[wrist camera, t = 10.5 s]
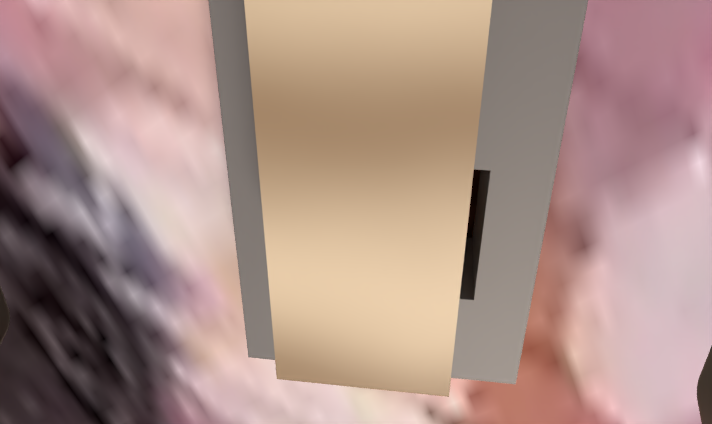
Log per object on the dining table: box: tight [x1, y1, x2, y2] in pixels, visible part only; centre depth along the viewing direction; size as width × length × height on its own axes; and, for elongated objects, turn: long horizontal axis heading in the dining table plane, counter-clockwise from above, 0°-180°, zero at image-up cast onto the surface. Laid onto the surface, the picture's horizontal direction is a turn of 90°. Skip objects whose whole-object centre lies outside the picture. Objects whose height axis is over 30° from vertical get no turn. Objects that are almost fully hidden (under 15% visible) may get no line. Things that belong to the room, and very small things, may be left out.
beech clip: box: [244, 0, 492, 397], centre depth 15 cm, size 12×4×6 cm, turn 0°
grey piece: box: [209, 0, 588, 384], centre depth 16 cm, size 18×8×3 cm, turn 0°
